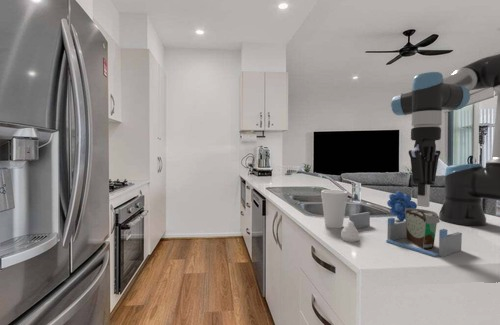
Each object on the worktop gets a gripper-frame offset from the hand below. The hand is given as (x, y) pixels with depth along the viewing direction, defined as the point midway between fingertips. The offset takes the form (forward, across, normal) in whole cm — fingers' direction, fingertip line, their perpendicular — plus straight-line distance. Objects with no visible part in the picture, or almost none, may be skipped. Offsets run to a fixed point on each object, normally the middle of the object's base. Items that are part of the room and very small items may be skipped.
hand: (423, 206), depth 83 cm
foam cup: (+12, +7, -28) cm, 32 cm away
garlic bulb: (+12, +15, -14) cm, 24 cm away
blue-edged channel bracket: (+12, 0, -8) cm, 14 cm away
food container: (+12, -1, 0) cm, 12 cm away
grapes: (+12, -22, -20) cm, 32 cm away
